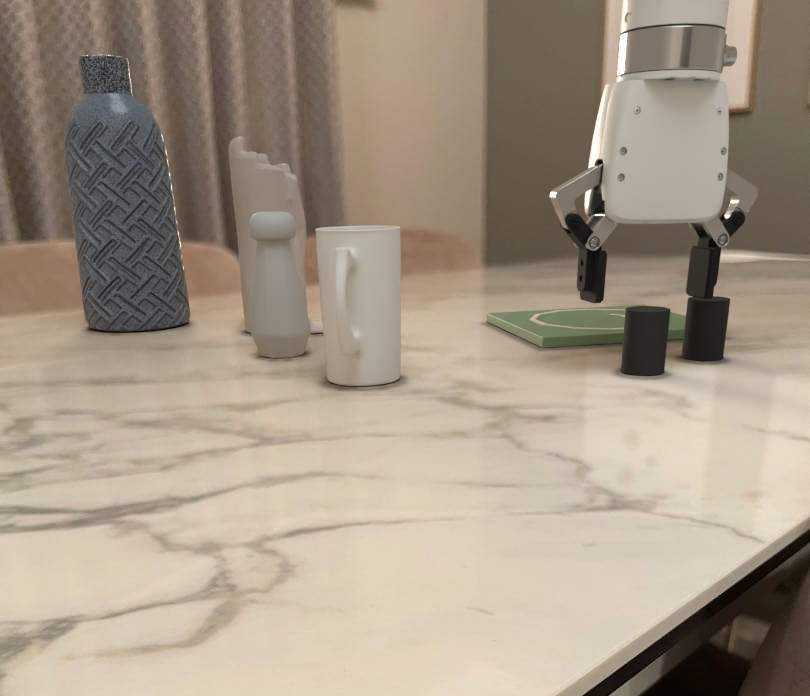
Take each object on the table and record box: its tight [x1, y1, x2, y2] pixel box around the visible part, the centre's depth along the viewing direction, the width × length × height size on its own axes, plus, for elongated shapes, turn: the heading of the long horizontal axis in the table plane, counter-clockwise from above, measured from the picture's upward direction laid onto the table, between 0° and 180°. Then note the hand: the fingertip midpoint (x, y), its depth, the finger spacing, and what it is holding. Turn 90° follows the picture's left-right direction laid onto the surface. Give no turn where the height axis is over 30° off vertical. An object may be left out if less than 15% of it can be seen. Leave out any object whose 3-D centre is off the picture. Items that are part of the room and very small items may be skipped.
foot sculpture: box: [228, 135, 323, 334], centre depth 93 cm, size 7×14×20 cm, turn 88°
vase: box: [63, 54, 191, 333], centre depth 97 cm, size 12×12×28 cm
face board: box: [486, 304, 686, 349], centre depth 93 cm, size 20×18×1 cm
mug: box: [315, 225, 402, 387], centre depth 68 cm, size 10×7×12 cm, turn 169°
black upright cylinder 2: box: [681, 295, 731, 362], centre depth 76 cm, size 4×4×5 cm
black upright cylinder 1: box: [620, 305, 671, 377], centre depth 71 cm, size 4×4×5 cm
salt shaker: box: [249, 211, 311, 359], centre depth 80 cm, size 6×6×13 cm
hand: (645, 299), depth 70 cm, fingers open, 9 cm apart
